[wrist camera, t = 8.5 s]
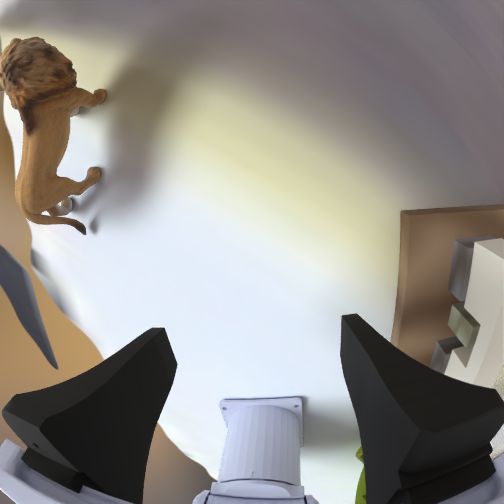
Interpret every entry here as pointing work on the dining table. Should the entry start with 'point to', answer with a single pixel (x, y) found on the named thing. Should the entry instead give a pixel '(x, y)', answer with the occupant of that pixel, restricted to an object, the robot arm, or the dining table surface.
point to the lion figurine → (45, 126)
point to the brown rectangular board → (439, 280)
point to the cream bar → (483, 318)
